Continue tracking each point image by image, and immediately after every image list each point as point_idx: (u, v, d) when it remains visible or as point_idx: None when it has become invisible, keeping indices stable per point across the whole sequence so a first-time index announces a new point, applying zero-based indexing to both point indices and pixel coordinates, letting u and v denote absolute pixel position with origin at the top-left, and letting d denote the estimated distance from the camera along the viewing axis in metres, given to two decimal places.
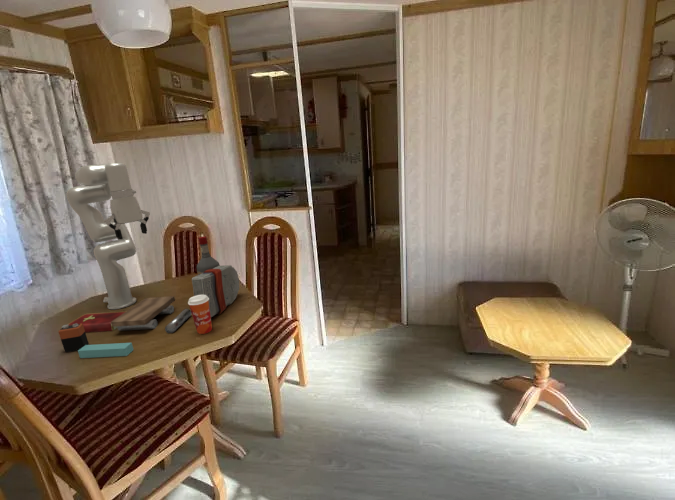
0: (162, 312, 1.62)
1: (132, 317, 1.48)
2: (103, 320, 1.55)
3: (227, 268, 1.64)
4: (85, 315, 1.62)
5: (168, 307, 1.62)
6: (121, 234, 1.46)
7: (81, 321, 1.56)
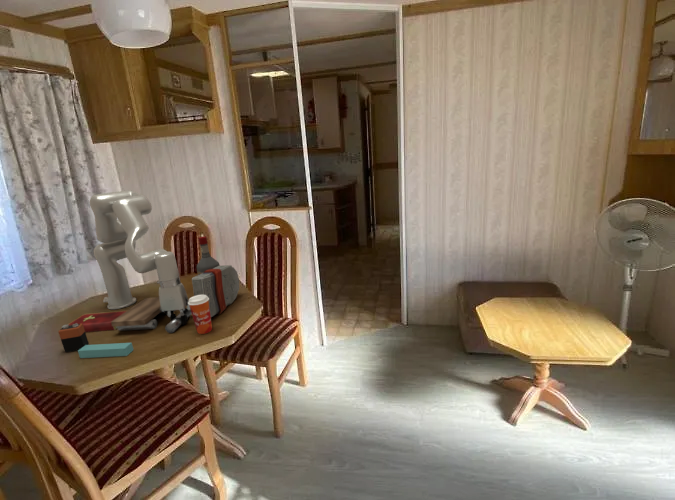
0: None
1: (132, 317, 1.48)
2: (104, 319, 1.55)
3: (227, 268, 1.64)
4: (84, 315, 1.62)
5: None
6: None
7: (81, 321, 1.56)
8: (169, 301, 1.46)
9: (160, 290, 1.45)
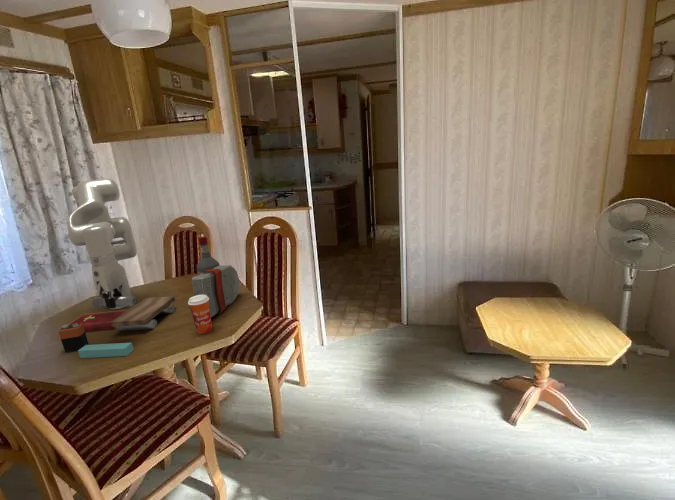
0: None
1: (132, 317, 1.48)
2: (104, 319, 1.56)
3: (227, 268, 1.64)
4: (84, 315, 1.62)
5: (169, 306, 1.63)
6: None
7: (81, 321, 1.56)
8: (113, 277, 1.34)
9: (104, 267, 1.30)
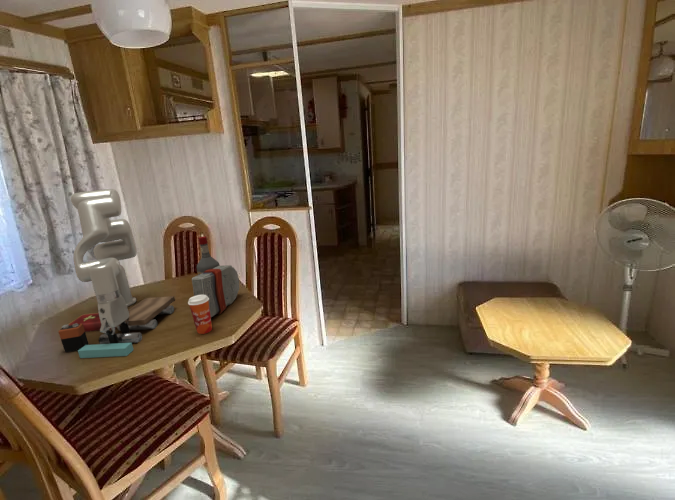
0: (162, 312, 1.62)
1: (132, 317, 1.48)
2: None
3: (227, 268, 1.64)
4: (83, 315, 1.62)
5: (168, 307, 1.62)
6: (121, 330, 1.43)
7: (81, 321, 1.56)
8: (119, 313, 1.37)
9: (110, 304, 1.33)
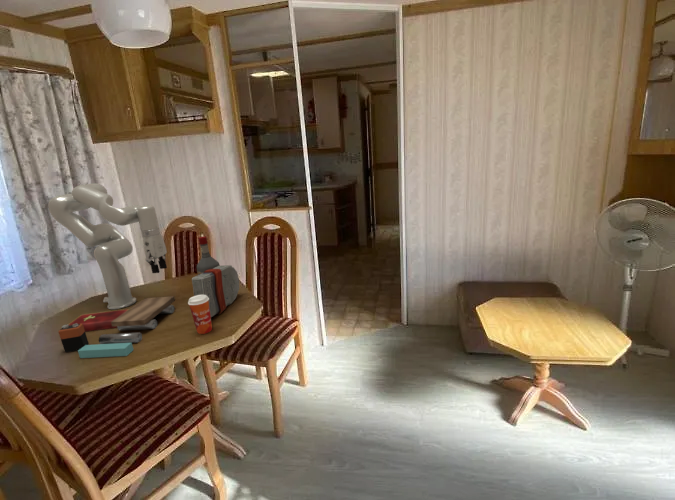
0: (162, 311, 1.63)
1: (132, 317, 1.48)
2: (106, 318, 1.57)
3: (227, 268, 1.64)
4: (82, 315, 1.62)
5: (169, 306, 1.63)
6: (159, 265, 1.72)
7: (82, 321, 1.56)
8: (159, 247, 1.66)
9: (153, 239, 1.62)
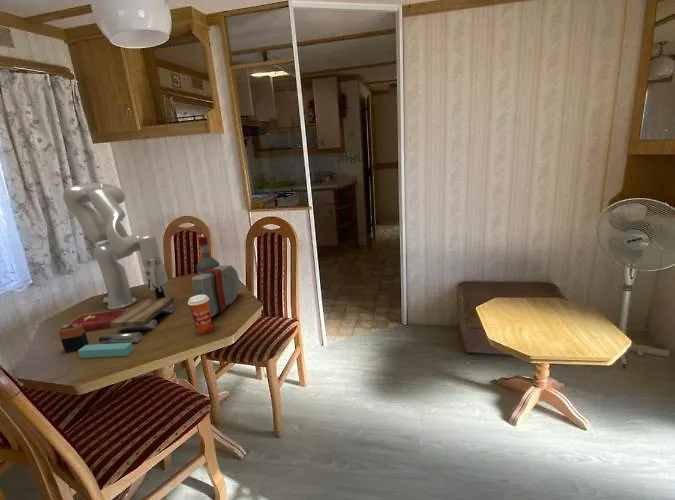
0: (163, 310, 1.63)
1: (131, 318, 1.47)
2: (106, 317, 1.57)
3: (227, 268, 1.64)
4: (82, 316, 1.61)
5: (170, 305, 1.64)
6: None
7: (82, 321, 1.56)
8: (160, 276, 1.65)
9: (154, 268, 1.61)
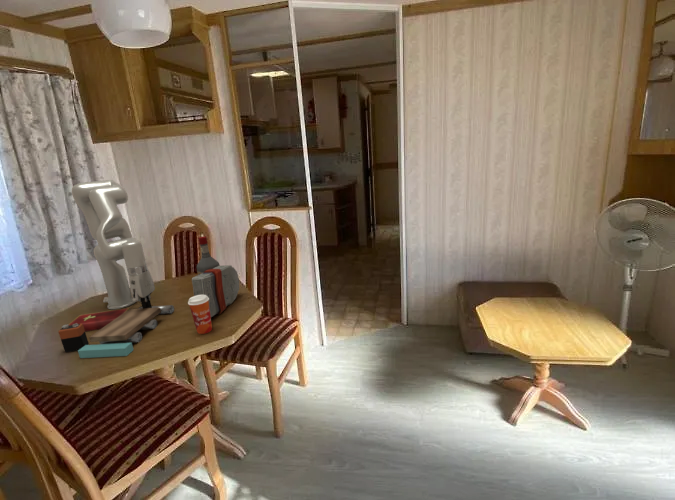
0: (162, 311, 1.62)
1: (113, 331, 1.37)
2: (107, 317, 1.57)
3: (227, 268, 1.64)
4: (81, 316, 1.61)
5: (168, 306, 1.63)
6: None
7: (82, 321, 1.56)
8: (147, 285, 1.55)
9: (139, 277, 1.51)
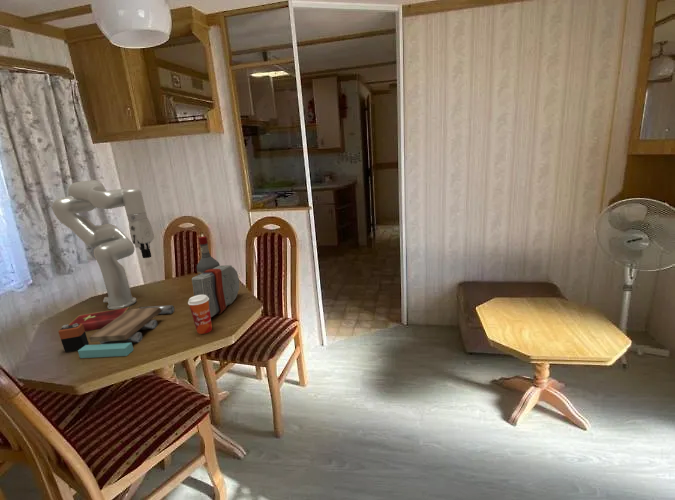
0: (162, 312, 1.62)
1: (113, 331, 1.37)
2: (107, 316, 1.58)
3: (227, 268, 1.64)
4: (81, 316, 1.61)
5: (168, 307, 1.63)
6: None
7: (82, 321, 1.56)
8: (146, 232, 1.60)
9: (139, 223, 1.56)
